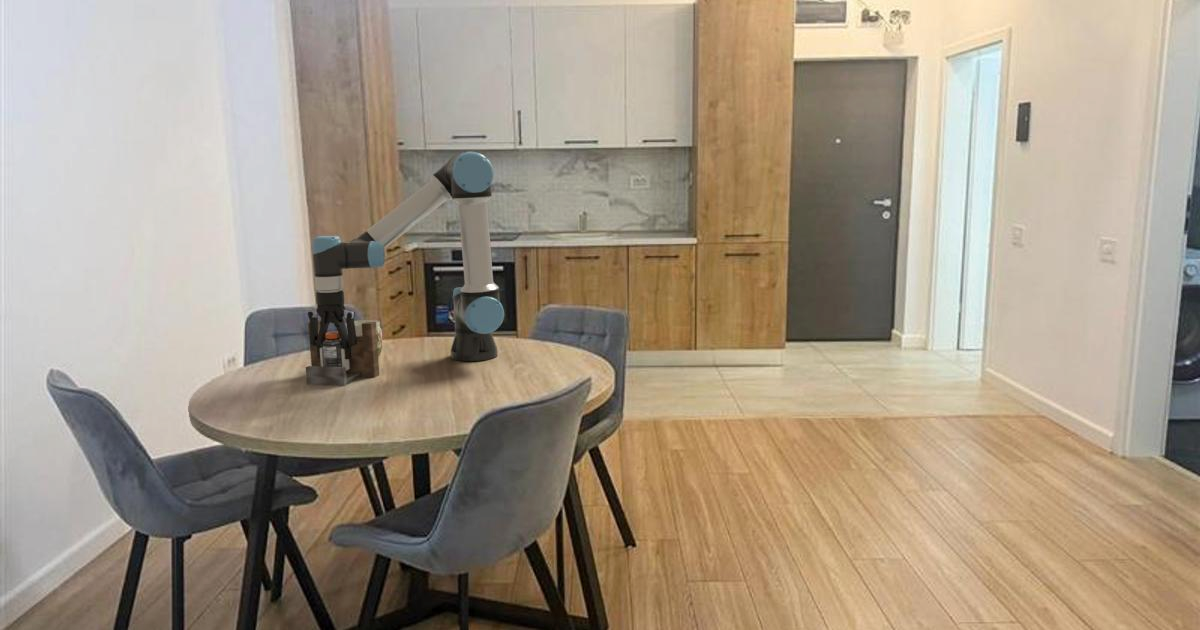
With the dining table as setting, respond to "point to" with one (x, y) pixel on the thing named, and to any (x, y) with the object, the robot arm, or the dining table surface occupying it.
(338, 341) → the pill bottle
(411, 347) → the dining table surface
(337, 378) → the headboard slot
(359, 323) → the pitcher
